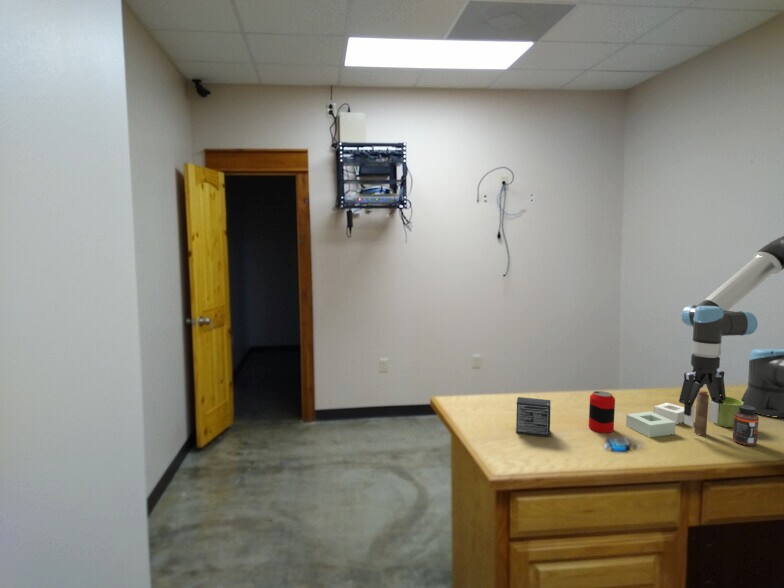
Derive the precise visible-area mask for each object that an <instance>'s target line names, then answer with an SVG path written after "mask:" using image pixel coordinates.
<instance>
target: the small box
mask: <svg viewBox="0 0 784 588" xmlns="http://www.w3.org/2000/svg"><path fill="white" fill-rule="evenodd" d="M551 401H552V400H551V399H542V398H531V397H522V396H521V397H520V396H518V397H517V399H516V419H515V420H516V426H515V433H516V434H521V435H522V434H523V435H530V436H538V437H546V438H550V436H551V433H550V432H551V404H552V403H551Z"/></svg>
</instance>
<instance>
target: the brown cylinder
mask: <svg viewBox="0 0 784 588" xmlns="http://www.w3.org/2000/svg"><path fill="white" fill-rule="evenodd" d="M708 393H709V391H706V390H701V389H700V391H699V393H698V395H697V397H696V399H695V401H696V402H695V414H694V430H693V431H694V432H693V433H694V434H695V433H696V434H695V435H697V434H700V435H706V436H707V427H708V426H707V425H708V413H709V401H710V398H709V397H710V394H708ZM700 435H699V436H700Z"/></svg>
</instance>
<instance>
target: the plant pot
mask: <svg viewBox="0 0 784 588" xmlns="http://www.w3.org/2000/svg"><path fill="white" fill-rule="evenodd" d="M709 401H712V399H711V397H710V396H709ZM722 401H723V400H722ZM740 405H743V401H741V399H739V398H736V397H731V396H727V395H726V400H725V401H724V403H723V404H720V406H719V412H718V423H715V425H717V424H718V425H717V426H719V425H721V426H720V427H722V426H726V427H725V428H733V427H734V415H735V413H736V412H738V411H739V406H740Z"/></svg>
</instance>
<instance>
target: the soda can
mask: <svg viewBox="0 0 784 588" xmlns="http://www.w3.org/2000/svg"><path fill="white" fill-rule="evenodd" d="M615 406H616V398H615V396H614V395H613V393H611V392H608V391H603V390H596V391H595V390H594V391H593V392H592V394H590V396H589V407H588V408H589V413H588V427H589V429H590V430H592V431H594V432H596V433H599V434H600V433H601V434H609V433H612V432H613V431H614V428H615V426H614V425H615V408H616V407H615Z"/></svg>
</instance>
